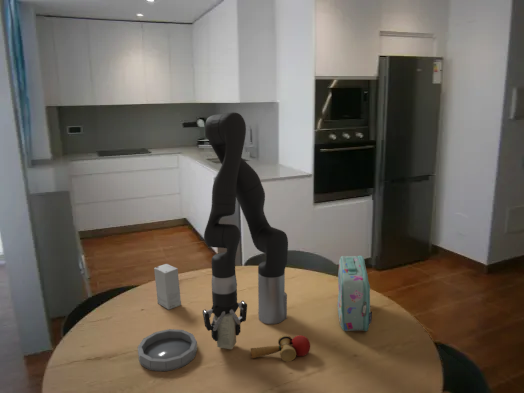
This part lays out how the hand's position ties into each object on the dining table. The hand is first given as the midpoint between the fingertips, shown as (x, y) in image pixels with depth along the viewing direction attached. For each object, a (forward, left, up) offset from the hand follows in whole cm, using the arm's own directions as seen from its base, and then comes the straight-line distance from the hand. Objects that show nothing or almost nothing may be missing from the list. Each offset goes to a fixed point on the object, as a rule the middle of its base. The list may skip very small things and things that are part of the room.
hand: (226, 336), depth 129 cm
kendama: (-13, +11, -4) cm, 18 cm away
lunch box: (-46, +2, -4) cm, 47 cm away
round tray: (+17, -4, -4) cm, 18 cm away
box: (0, 0, -3) cm, 3 cm away
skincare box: (+10, -36, -4) cm, 38 cm away
